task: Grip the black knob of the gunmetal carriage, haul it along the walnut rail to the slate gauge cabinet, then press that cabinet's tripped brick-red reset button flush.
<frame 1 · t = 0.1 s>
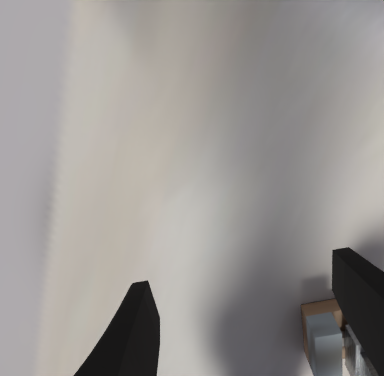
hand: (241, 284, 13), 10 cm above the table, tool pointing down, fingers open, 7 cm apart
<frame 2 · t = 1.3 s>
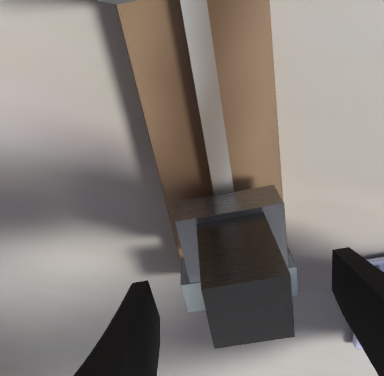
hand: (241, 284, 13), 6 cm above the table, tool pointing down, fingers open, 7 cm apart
carriage: (237, 261, 14), point 5 cm above the table, slide at 5.5 cm
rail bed: (208, 107, 16), on the table
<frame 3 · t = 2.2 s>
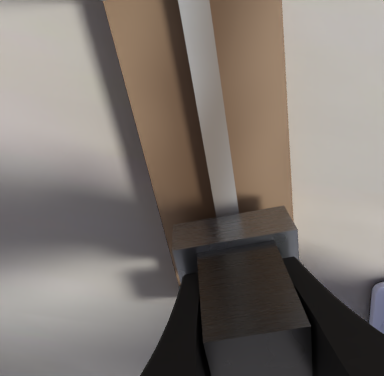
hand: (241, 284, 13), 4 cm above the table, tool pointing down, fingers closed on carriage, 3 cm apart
carriage: (244, 296, 12), point 5 cm above the table, slide at 5.5 cm, touching gripper
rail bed: (210, 118, 14), on the table
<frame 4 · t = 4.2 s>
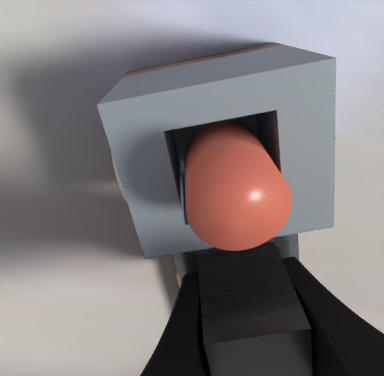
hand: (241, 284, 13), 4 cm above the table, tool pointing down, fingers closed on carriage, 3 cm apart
reset button: (229, 179, 9), point 6 cm above the table, slide at 1.8 cm
carriage: (244, 297, 13), point 5 cm above the table, slide at -1.9 cm, touching gripper
gauge cabinet: (210, 118, 14), resting on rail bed
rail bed: (232, 254, 18), on the table
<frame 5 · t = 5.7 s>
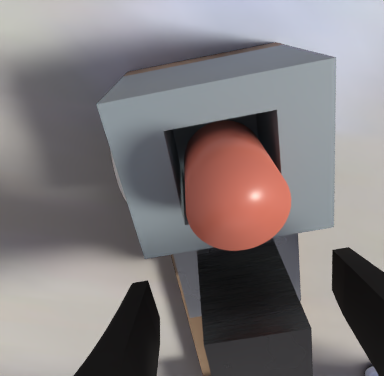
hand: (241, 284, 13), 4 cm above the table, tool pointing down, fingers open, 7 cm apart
reset button: (229, 179, 9), point 6 cm above the table, slide at 1.8 cm
carriage: (244, 298, 13), point 5 cm above the table, slide at -1.9 cm
gauge cabinet: (210, 118, 14), resting on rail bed
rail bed: (232, 254, 18), on the table
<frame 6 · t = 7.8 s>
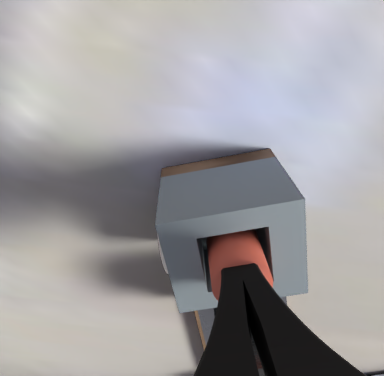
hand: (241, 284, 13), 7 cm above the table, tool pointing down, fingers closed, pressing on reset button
reset button: (236, 261, 14), point 6 cm above the table, slide at 1.3 cm, touching gripper
carriage: (247, 335, 17), point 5 cm above the table, slide at -1.9 cm
gauge cabinet: (221, 197, 19), resting on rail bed
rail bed: (237, 292, 23), on the table
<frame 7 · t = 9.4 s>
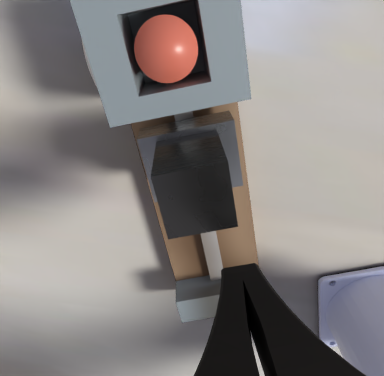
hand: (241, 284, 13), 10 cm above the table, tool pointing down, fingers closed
reset button: (167, 46, 14), point 4 cm above the table, slide at 0.0 cm
carriage: (193, 172, 16), point 5 cm above the table, slide at -1.9 cm
gauge cabinet: (169, 40, 18), resting on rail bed
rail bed: (195, 166, 21), on the table
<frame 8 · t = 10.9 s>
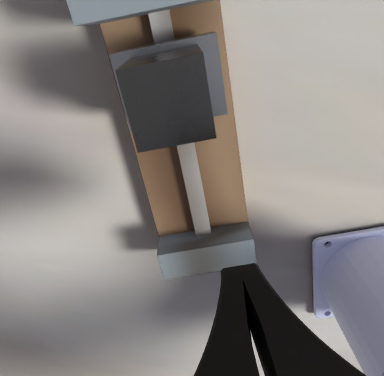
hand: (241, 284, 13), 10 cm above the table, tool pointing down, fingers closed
carriage: (170, 90, 14), point 5 cm above the table, slide at -1.9 cm
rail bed: (179, 106, 20), on the table
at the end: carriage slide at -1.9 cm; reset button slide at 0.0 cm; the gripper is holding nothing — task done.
